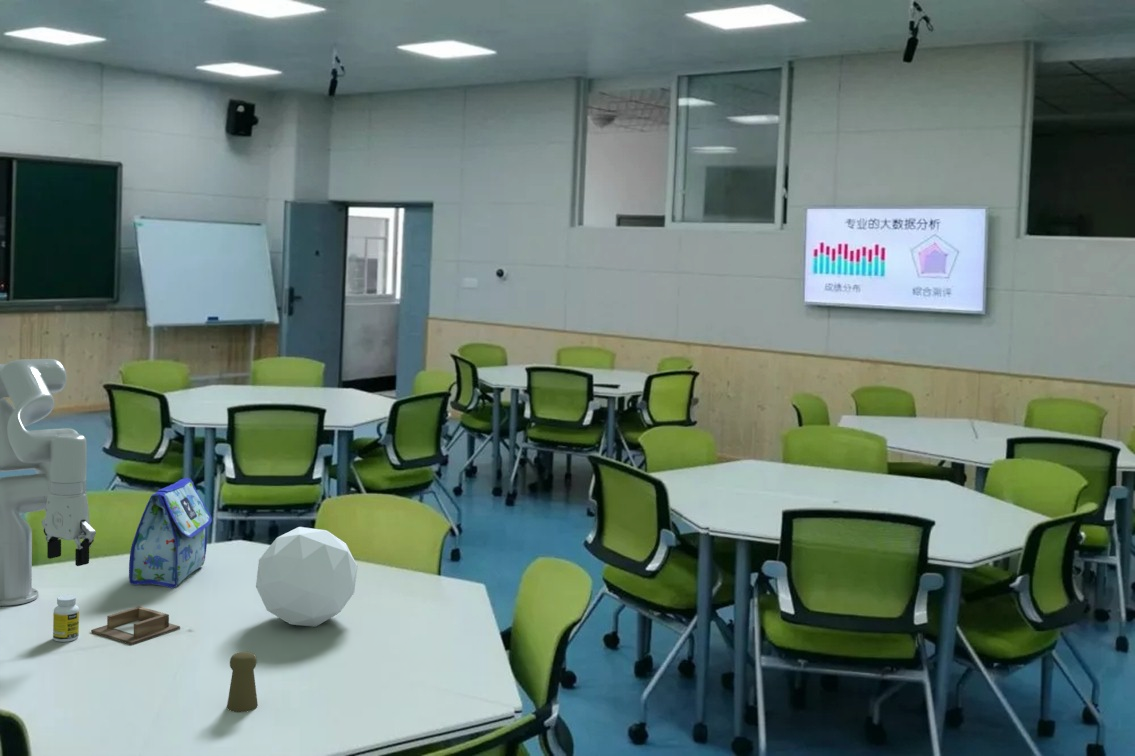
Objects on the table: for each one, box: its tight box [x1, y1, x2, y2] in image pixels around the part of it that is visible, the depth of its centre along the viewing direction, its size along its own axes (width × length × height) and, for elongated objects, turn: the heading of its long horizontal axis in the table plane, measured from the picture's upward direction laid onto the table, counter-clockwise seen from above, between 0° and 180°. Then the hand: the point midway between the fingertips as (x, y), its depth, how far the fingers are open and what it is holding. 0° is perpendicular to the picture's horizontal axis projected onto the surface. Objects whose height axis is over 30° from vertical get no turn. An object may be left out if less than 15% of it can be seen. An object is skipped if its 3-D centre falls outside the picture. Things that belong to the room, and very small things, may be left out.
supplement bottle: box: [52, 594, 80, 643], centre depth 254 cm, size 5×5×10 cm
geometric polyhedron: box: [255, 526, 358, 627], centre depth 273 cm, size 24×25×25 cm
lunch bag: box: [128, 477, 213, 589], centre depth 304 cm, size 22×17×26 cm
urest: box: [90, 605, 181, 646], centre depth 262 cm, size 14×14×4 cm
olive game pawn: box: [226, 651, 259, 713], centre depth 222 cm, size 6×6×11 cm
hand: (68, 561), depth 252 cm, fingers open, 9 cm apart
